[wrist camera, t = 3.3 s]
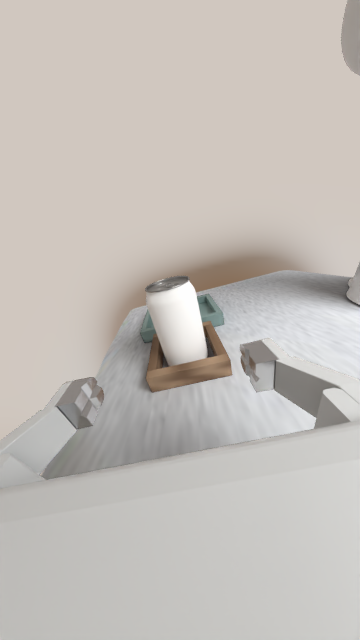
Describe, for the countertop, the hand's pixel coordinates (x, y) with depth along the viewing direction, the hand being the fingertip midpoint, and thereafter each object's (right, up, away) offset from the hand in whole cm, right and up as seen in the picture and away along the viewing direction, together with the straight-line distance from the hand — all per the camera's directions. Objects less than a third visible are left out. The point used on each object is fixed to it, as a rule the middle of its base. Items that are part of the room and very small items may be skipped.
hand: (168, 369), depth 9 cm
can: (+2, -3, +16) cm, 17 cm away
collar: (+2, -3, +16) cm, 17 cm away
